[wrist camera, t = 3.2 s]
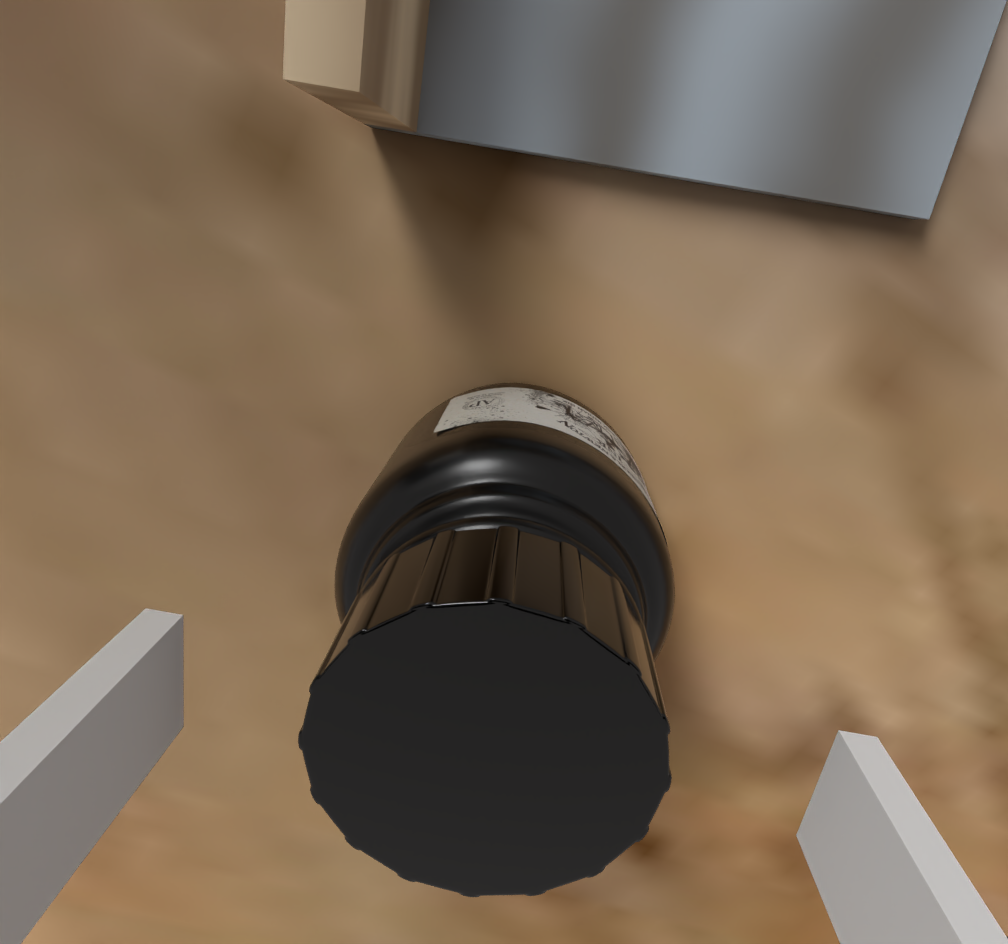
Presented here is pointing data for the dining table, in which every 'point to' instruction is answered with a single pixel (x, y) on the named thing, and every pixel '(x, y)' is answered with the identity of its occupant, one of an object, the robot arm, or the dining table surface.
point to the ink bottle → (497, 651)
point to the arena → (669, 85)
